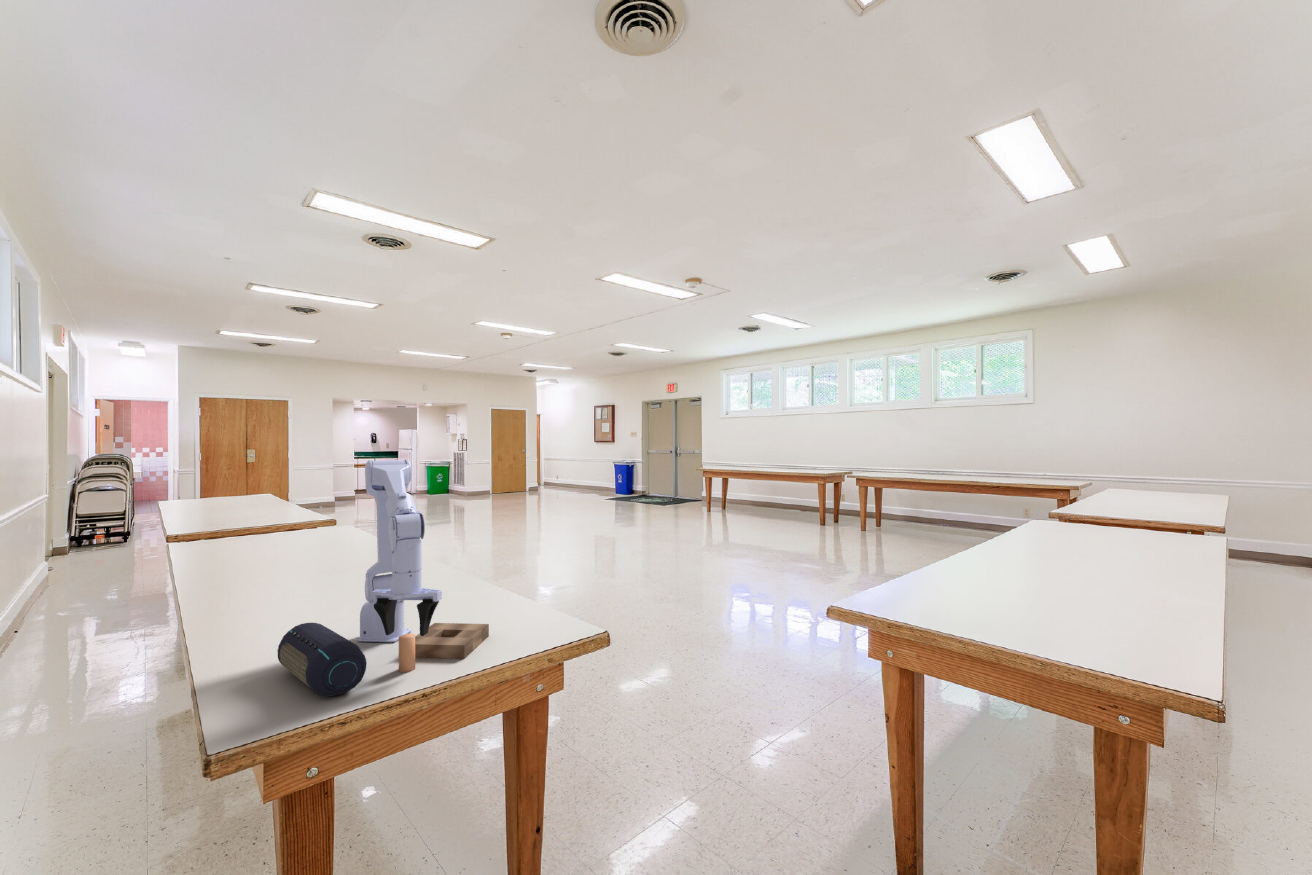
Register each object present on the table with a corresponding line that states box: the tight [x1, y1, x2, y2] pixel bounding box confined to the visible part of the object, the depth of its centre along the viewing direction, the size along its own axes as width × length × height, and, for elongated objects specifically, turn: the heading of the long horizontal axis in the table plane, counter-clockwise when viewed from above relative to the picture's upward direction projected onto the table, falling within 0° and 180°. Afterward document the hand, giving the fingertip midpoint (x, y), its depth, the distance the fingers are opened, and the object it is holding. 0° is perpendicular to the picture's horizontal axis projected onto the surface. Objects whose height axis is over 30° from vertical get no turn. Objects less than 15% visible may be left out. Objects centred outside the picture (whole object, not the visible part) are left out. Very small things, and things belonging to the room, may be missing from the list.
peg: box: [398, 633, 416, 673], centre depth 114 cm, size 3×3×7 cm
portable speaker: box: [277, 622, 367, 697], centre depth 109 cm, size 25×10×10 cm, turn 50°
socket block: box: [415, 622, 490, 660], centre depth 127 cm, size 14×14×3 cm
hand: (407, 633), depth 114 cm, fingers open, 7 cm apart
